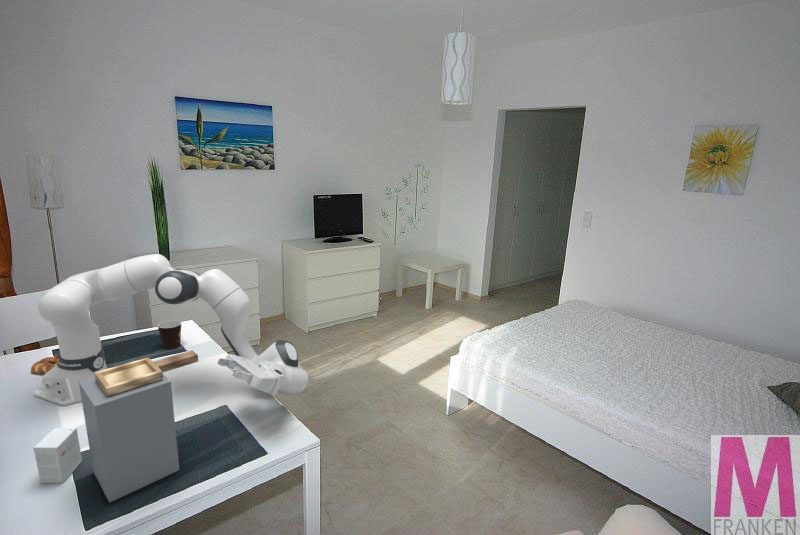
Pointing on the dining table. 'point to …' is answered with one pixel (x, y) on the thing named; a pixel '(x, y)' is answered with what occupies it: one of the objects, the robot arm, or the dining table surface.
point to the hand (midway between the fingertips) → (226, 367)
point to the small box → (58, 455)
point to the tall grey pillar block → (130, 435)
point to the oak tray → (140, 372)
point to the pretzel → (44, 365)
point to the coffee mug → (170, 334)
